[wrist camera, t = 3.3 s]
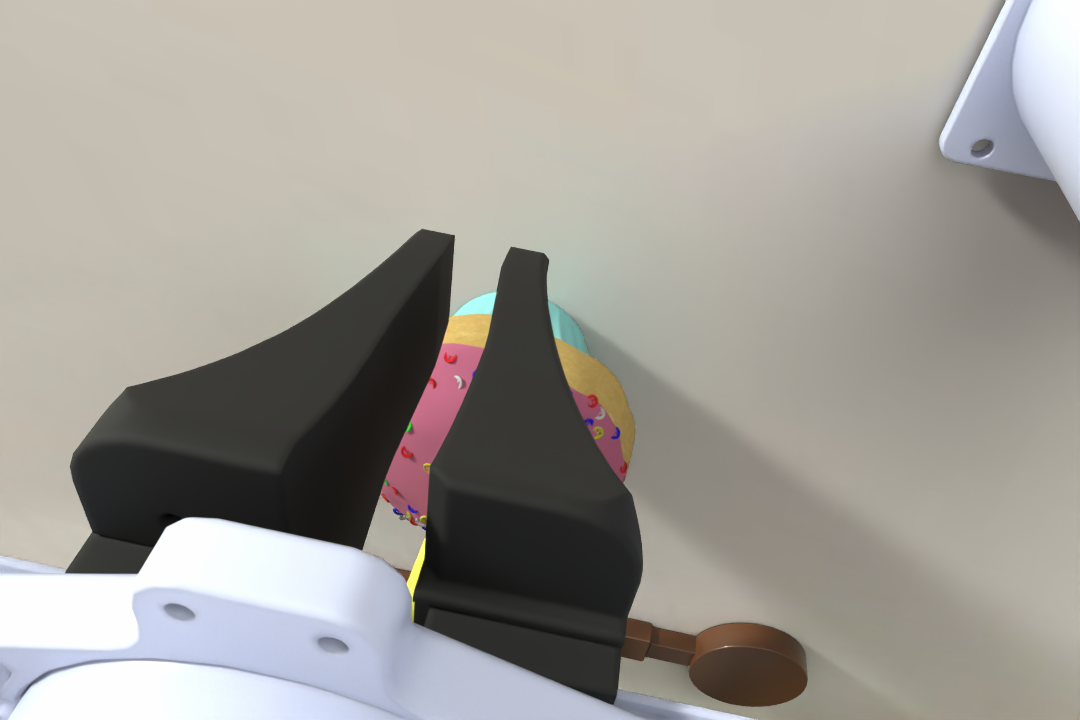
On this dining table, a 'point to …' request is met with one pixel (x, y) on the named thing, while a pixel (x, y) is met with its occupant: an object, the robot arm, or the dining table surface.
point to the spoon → (725, 659)
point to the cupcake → (449, 386)
